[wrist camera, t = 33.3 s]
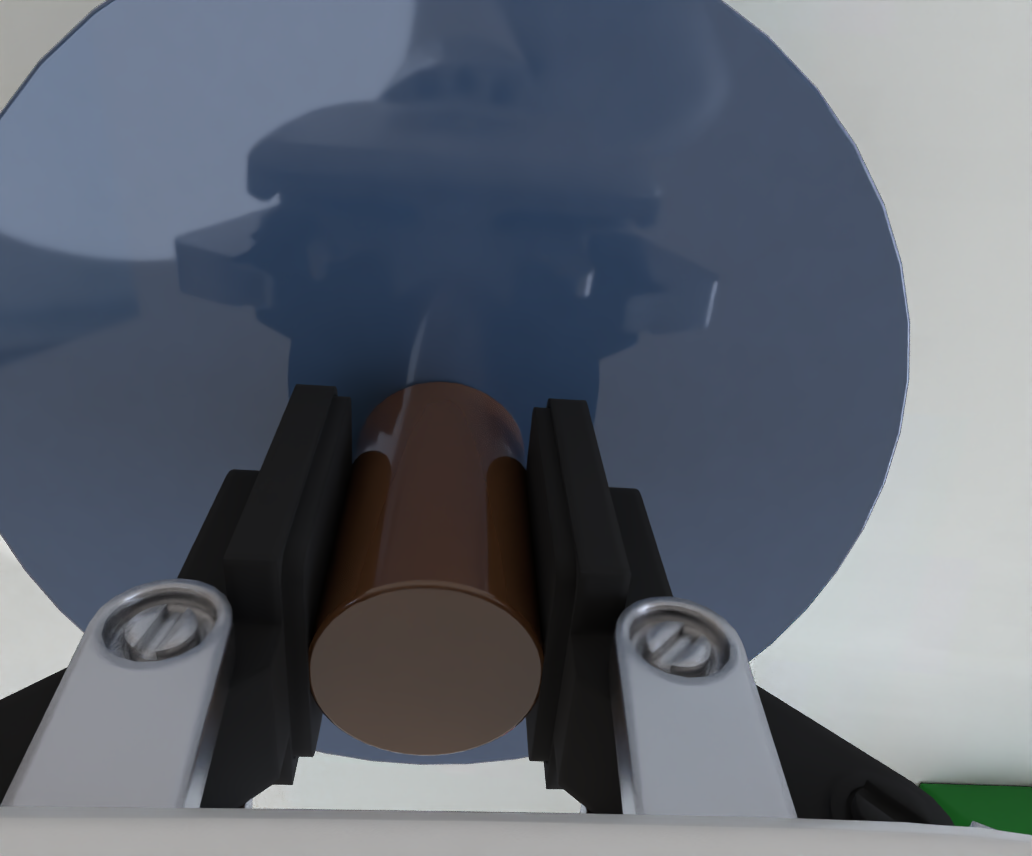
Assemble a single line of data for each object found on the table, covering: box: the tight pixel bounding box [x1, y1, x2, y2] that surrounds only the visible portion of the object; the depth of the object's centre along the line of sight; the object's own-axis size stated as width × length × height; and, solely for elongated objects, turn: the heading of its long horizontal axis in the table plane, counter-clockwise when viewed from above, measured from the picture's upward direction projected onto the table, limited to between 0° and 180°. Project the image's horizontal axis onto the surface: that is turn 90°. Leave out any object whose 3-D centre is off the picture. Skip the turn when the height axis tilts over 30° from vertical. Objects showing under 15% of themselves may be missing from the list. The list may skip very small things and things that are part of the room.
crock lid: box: [0, 0, 910, 765], centre depth 11 cm, size 15×15×6 cm
